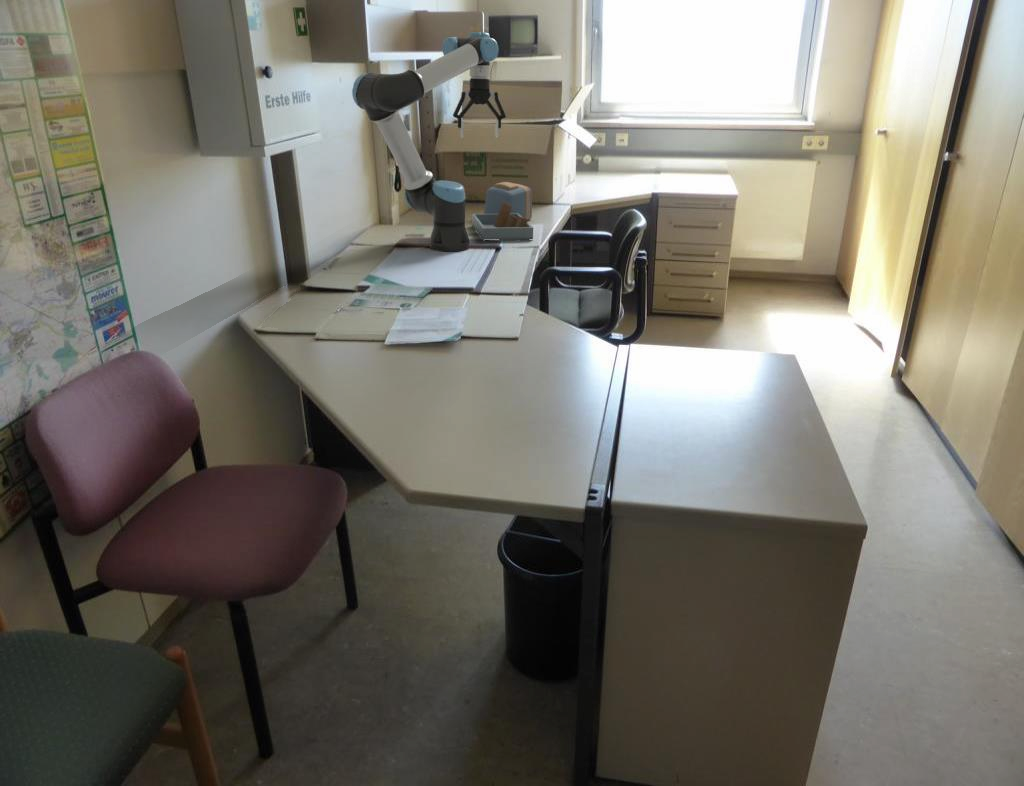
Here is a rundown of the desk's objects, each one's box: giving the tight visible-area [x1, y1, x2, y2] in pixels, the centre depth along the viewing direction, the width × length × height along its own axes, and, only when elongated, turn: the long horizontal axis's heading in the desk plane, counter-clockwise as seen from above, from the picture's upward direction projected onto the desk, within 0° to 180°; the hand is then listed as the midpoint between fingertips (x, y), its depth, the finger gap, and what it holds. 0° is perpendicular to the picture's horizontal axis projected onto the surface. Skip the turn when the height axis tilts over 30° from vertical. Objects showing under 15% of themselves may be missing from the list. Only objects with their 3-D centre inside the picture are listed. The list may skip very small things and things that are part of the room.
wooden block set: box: [494, 202, 529, 228], centre depth 297 cm, size 18×9×10 cm, turn 30°
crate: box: [471, 213, 534, 242], centre depth 297 cm, size 20×28×5 cm
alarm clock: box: [483, 181, 533, 221], centre depth 320 cm, size 16×16×16 cm
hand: (479, 137), depth 284 cm, fingers open, 13 cm apart
